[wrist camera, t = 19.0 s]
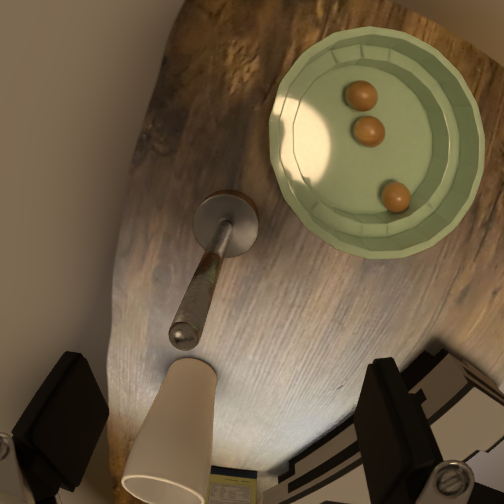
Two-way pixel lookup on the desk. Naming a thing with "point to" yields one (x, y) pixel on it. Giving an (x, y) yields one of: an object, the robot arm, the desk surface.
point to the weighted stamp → (213, 258)
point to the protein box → (231, 487)
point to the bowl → (384, 155)
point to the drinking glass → (175, 439)
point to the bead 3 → (395, 197)
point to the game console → (440, 420)
